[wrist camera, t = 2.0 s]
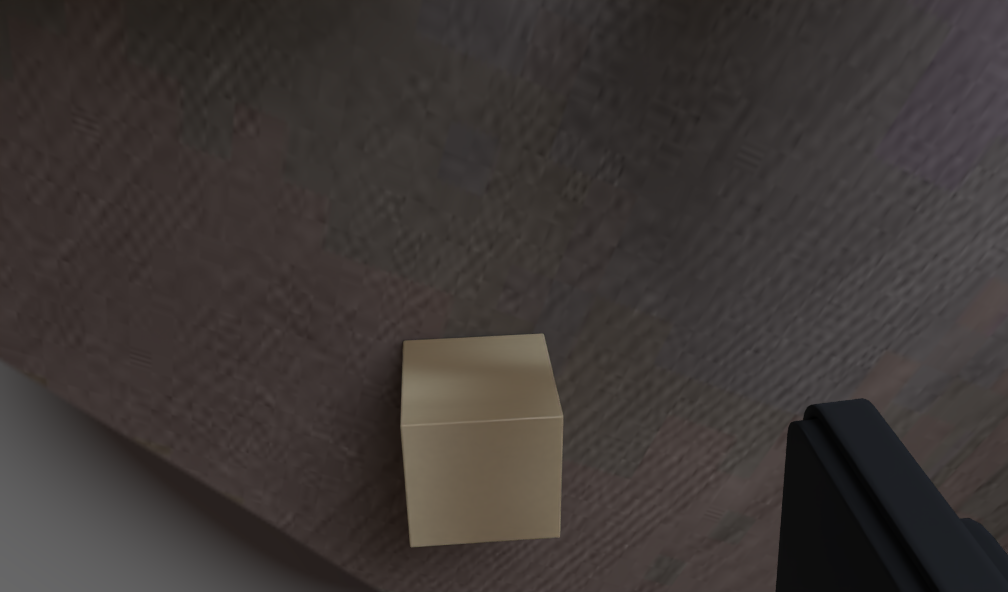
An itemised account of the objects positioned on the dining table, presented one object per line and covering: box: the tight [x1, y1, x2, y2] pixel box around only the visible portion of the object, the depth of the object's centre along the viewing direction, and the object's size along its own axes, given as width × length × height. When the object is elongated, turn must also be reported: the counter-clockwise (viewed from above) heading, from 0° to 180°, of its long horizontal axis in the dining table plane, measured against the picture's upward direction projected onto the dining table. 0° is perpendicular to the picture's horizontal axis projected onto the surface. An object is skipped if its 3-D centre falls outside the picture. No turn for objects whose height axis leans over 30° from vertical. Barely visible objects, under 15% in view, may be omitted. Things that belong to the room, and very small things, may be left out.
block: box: [400, 334, 563, 547], centre depth 27 cm, size 4×4×4 cm
